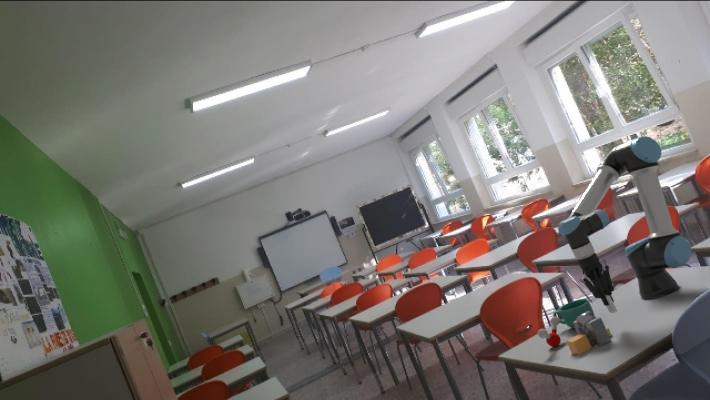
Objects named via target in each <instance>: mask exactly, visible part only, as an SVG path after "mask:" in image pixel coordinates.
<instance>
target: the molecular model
mask: <svg viewBox="0 0 710 400" xmlns="http://www.w3.org/2000/svg"><path fill="white" fill-rule="evenodd" d="M559 319H560V318H559V317H558V316H557V317H555V316H554V317H553V316H552V317H551V318H550V320H549V321H550V324H551V325H552V326H551V332H550V333H548V330H547V329H545V328H540V329H538V331H537V334H538V337H540V339H545V340H546V343H547V345H548V346H550V347H553V348H556V347H558V346H559V345H560V344H561V337H560V335H559V334H558V333H557V331H558V329H557V328H558V326H559V324H561V323H560V320H559Z"/></svg>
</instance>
